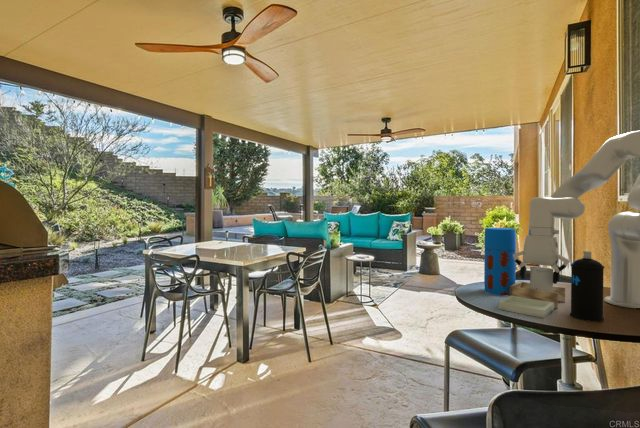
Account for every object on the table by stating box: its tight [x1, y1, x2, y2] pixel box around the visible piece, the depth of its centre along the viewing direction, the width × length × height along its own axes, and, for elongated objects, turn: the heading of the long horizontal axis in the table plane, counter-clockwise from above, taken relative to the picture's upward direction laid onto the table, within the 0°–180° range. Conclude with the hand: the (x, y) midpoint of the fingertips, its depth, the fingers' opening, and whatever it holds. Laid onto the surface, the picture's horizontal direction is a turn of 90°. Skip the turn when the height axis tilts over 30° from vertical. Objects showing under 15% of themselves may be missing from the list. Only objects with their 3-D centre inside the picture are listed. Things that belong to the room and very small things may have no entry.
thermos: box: [483, 227, 517, 296], centre depth 135 cm, size 11×11×25 cm
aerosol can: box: [569, 250, 606, 323], centre depth 104 cm, size 8×8×20 cm
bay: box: [508, 280, 566, 309], centre depth 123 cm, size 14×12×5 cm
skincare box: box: [529, 266, 554, 292], centre depth 122 cm, size 6×4×12 cm
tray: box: [498, 295, 555, 319], centre depth 113 cm, size 13×12×2 cm
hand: (539, 280), depth 122 cm, fingers open, 9 cm apart
